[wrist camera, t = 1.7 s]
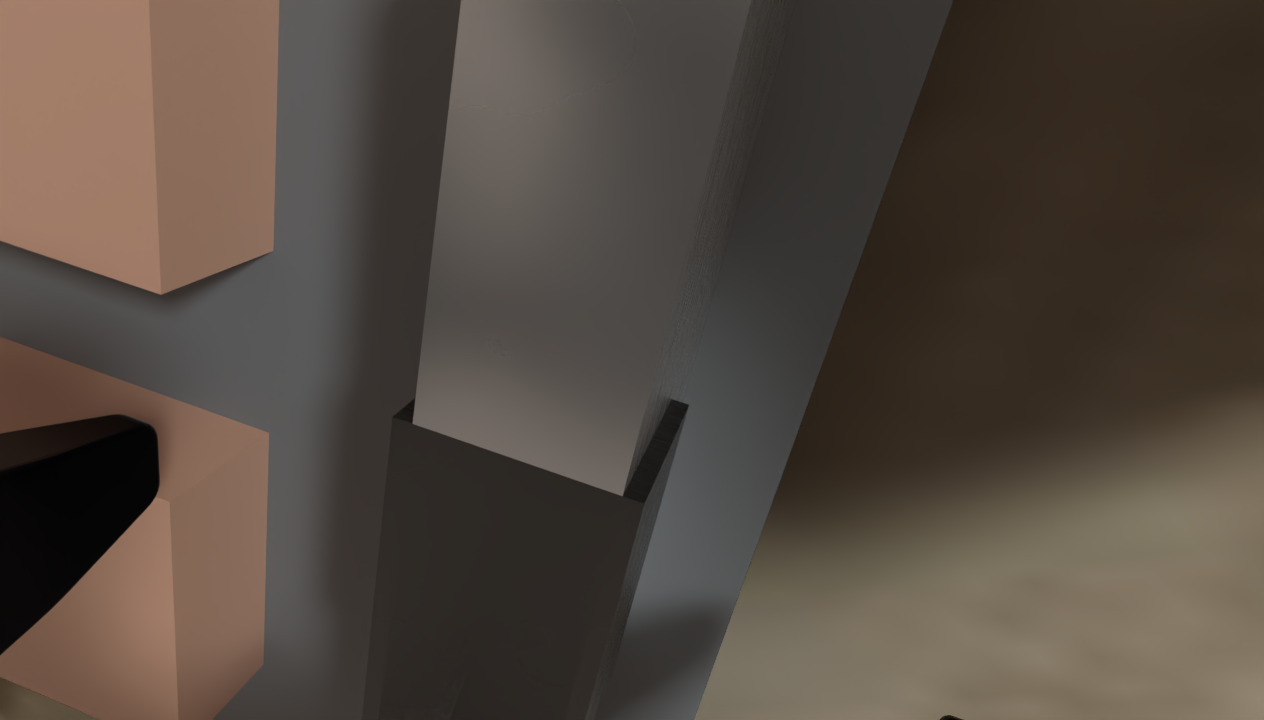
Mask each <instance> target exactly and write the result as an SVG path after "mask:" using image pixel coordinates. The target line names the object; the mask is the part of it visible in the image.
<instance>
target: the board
mask: <svg viewBox="0 0 1264 720" xmlns="http://www.w3.org/2000/svg"><path fill="white" fill-rule="evenodd" d="M952 3H953V0H795V3H794V7H793V10H792V14H791V18H790V21H789V25H788V28H787V32H786V35H785V39H784V42H783V46H782V49H781V53H780V57H779V60H778V64H777V67H776V71H775V74H774V78H773V81H772V85H771V89H770V92H769V96H768V99H767V103H766V106H765V110H764V113H763V117H762V120H761V124H760V128H759V131H758V135H757V138H756V142H755V145H754V149H753V152H752V156H751V159H750V163H749V167H748V170H747V174H746V177H745V181H744V184H743V188H742V191H741V195H740V199H739V202H738V206H737V209H736V213H735V216H734V220H733V223H732V227H731V230H730V234H729V238H728V241H727V245H726V248H725V252H724V255H723V259H722V262H721V266H720V269H719V273H718V277H717V280H716V284H715V287H714V291H713V294H712V298H711V301H710V305H709V308H708V312H707V316H706V319H705V323H704V326H703V330H702V333H701V337H700V340H699V344H698V348H697V351H696V355H695V358H694V362H693V365H692V369H691V372H690V376H689V379H688V383H687V387H686V390H685V394H684V397H683V401H682V402H683V403H686V404H689V408H688V411H687V415H686V418H685V422H684V425H683V429H682V432H681V436H680V439H679V443H678V446H677V450H676V453H675V457H674V460H673V463H672V467H671V470H670V474H669V477H668V481H667V484H666V488H665V491H664V495H663V498H662V502H661V505H660V509H659V512H658V516H657V519H656V523H655V526H654V530H653V533H652V537H651V540H650V544H649V547H648V551H647V554H646V558H645V561H644V565H643V568H642V572H641V575H640V579H639V582H638V586H637V589H636V592H635V596H634V599H633V603H632V606H631V610H630V613H629V617H628V620H627V624H626V627H625V631H624V634H623V638H622V641H621V645H620V648H619V652H618V655H617V659H616V662H615V666H614V669H613V672H612V674H611V677H610V679H609V682H608V685H607V687H606V690H605V692H604V695H603V698H602V700H601V703H600V705H599V708H598V711H597V713H596V716H595V718H594V720H694V718H695V715H696V712H697V710H698V707H699V704H700V701H701V698H702V696H703V693H704V690H705V687H706V685H707V682H708V679H709V676H710V674H711V671H712V668H713V665H714V662H715V660H716V657H717V654H718V651H719V649H720V646H721V643H722V640H723V638H724V635H725V632H726V629H727V626H728V624H729V621H730V618H731V615H732V613H733V610H734V607H735V604H736V601H737V599H738V596H739V593H740V590H741V588H742V585H743V582H744V579H745V577H746V574H747V571H748V568H749V565H750V563H751V560H752V557H753V554H754V552H755V549H756V546H757V543H758V541H759V538H760V535H761V532H762V529H763V527H764V524H765V521H766V518H767V516H768V513H769V510H770V507H771V505H772V502H773V499H774V496H775V493H776V491H777V488H778V485H779V482H780V480H781V477H782V474H783V471H784V468H785V466H786V463H787V460H788V457H789V455H790V452H791V449H792V446H793V444H794V441H795V438H796V435H797V432H798V430H799V427H800V424H801V421H802V419H803V416H804V413H805V410H806V408H807V405H808V402H809V399H810V396H811V394H812V391H813V388H814V385H815V383H816V380H817V377H818V374H819V371H820V369H821V366H822V363H823V360H824V358H825V355H826V352H827V349H828V347H829V344H830V341H831V338H832V335H833V333H834V330H835V327H836V324H837V322H838V319H839V316H840V313H841V311H842V308H843V305H844V302H845V299H846V297H847V294H848V291H849V288H850V286H851V283H852V280H853V277H854V275H855V272H856V269H857V266H858V263H859V261H860V258H861V255H862V252H863V250H864V247H865V244H866V241H867V238H868V236H869V233H870V230H871V227H872V225H873V222H874V219H875V216H876V214H877V211H878V208H879V205H880V202H881V200H882V197H883V194H884V191H885V189H886V186H887V183H888V180H889V178H890V175H891V172H892V169H893V166H894V164H895V161H896V158H897V155H898V153H899V150H900V147H901V144H902V141H903V139H904V136H905V133H906V130H907V128H908V125H909V122H910V119H911V117H912V114H913V111H914V108H915V105H916V103H917V100H918V97H919V94H920V92H921V89H922V86H923V83H924V81H925V78H926V75H927V72H928V69H929V67H930V64H931V61H932V58H933V56H934V53H935V50H936V47H937V44H938V42H939V39H940V36H941V33H942V31H943V28H944V25H945V22H946V20H947V17H948V14H949V11H950V8H951V6H952ZM460 6H461V0H279V37H278V79H277V120H276V162H275V204H274V246H273V251H272V252H269V253H267V254H264V255H261V256H259V257H256V258H254V259H251V260H249V261H246V262H244V263H241V264H238V265H236V266H233V267H231V268H228V269H226V270H223V271H221V272H218V273H215V274H213V275H210V276H208V277H205V278H203V279H200V280H198V281H195V282H192V283H190V284H187V285H185V286H182V287H180V288H177V289H175V290H172V291H169V292H167V293H164V294H162V295H160V294H157V293H154V292H151V291H148V290H145V289H142V288H139V287H136V286H133V285H130V284H128V283H125V282H122V281H119V280H116V279H113V278H110V277H107V276H104V275H101V274H98V273H95V272H92V271H89V270H86V269H83V268H80V267H77V266H74V265H71V264H68V263H65V262H62V261H59V260H56V259H53V258H50V257H47V256H44V255H41V254H38V253H35V252H32V251H29V250H26V249H24V248H21V247H18V246H15V245H12V244H9V243H6V242H3V241H0V337H2V338H5V339H8V340H10V341H13V342H16V343H19V344H22V345H24V346H27V347H30V348H33V349H36V350H38V351H41V352H44V353H47V354H50V355H52V356H55V357H58V358H61V359H64V360H66V361H69V362H72V363H75V364H78V365H80V366H83V367H86V368H89V369H92V370H94V371H97V372H100V373H103V374H106V375H108V376H111V377H114V378H117V379H120V380H122V381H125V382H128V383H131V384H134V385H136V386H139V387H142V388H145V389H148V390H150V391H153V392H156V393H159V394H162V395H164V396H167V397H170V398H173V399H176V400H178V401H181V402H184V403H187V404H190V405H192V406H195V407H198V408H201V409H204V410H206V411H209V412H212V413H215V414H218V415H220V416H223V417H226V418H229V419H232V420H234V421H237V422H240V423H243V424H246V425H248V426H251V427H254V428H257V429H260V430H262V431H265V432H268V433H269V455H268V496H267V538H266V580H265V622H264V663H263V666H262V667H261V668H260V669H259V670H258V671H257V672H256V673H255V674H254V675H253V676H252V677H251V678H250V680H249V681H248V682H247V683H246V684H245V685H244V686H243V687H242V688H241V689H240V690H239V691H238V692H237V694H236V695H235V696H234V697H233V698H232V699H231V700H230V701H229V702H228V703H227V704H226V705H225V706H224V707H223V709H222V710H221V711H220V712H219V713H218V714H217V715H216V716H215V717H214V718H213V719H215V720H362V711H363V701H364V692H365V682H366V672H367V662H368V652H369V642H370V632H371V623H372V613H373V603H374V593H375V583H376V573H377V564H378V554H379V544H380V534H381V524H382V514H383V504H384V495H385V485H386V475H387V465H388V455H389V445H390V436H391V426H392V417H393V416H394V415H395V414H396V413H398V412H399V411H400V410H401V409H402V408H403V407H405V406H406V405H407V404H408V403H409V402H411V401H412V400H413V399H414V398H415V397H416V389H417V380H418V371H419V363H420V354H421V345H422V337H423V328H424V319H425V310H426V302H427V293H428V284H429V276H430V267H431V258H432V249H433V241H434V232H435V223H436V215H437V206H438V197H439V188H440V180H441V171H442V162H443V154H444V145H445V136H446V127H447V119H448V110H449V101H450V93H451V84H452V75H453V67H454V58H455V49H456V40H457V32H458V23H459V14H460Z"/></svg>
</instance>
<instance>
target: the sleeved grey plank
mask: <svg viewBox="0 0 1264 720" xmlns="http://www.w3.org/2000/svg"><path fill="white" fill-rule="evenodd" d="M794 3H795V0H461V6H460V14H459V23H458V32H457V40H456V49H455V58H454V67H453V75H452V84H451V93H450V101H449V110H448V119H447V127H446V136H445V145H444V154H443V162H442V171H441V180H440V188H439V197H438V206H437V215H436V223H435V232H434V241H433V249H432V258H431V267H430V276H429V284H428V293H427V302H426V310H425V319H424V328H423V337H422V345H421V354H420V363H419V371H418V380H417V389H416V397H415V398H414V399H413V400H412V401H411V402H409V403H408V404H407V405H406V406H405V407H403V408H402V409H401V410H400V411H399V412H398V413H396V414H395V415H394V416H393V417H392V426H391V436H390V445H389V455H388V465H387V475H386V485H385V495H384V504H383V514H382V524H381V534H380V544H379V554H378V564H377V573H376V583H375V593H374V603H373V613H372V623H371V632H370V642H369V652H368V662H367V672H366V682H365V692H364V701H363V711H362V720H594V718H595V716H596V713H597V711H598V708H599V705H600V703H601V700H602V698H603V695H604V692H605V690H606V687H607V685H608V682H609V679H610V677H611V674H612V672H613V669H614V666H615V662H616V659H617V655H618V652H619V648H620V645H621V641H622V638H623V634H624V631H625V627H626V624H627V620H628V617H629V613H630V610H631V606H632V603H633V599H634V596H635V592H636V589H637V586H638V582H639V579H640V575H641V572H642V568H643V565H644V561H645V558H646V554H647V551H648V547H649V544H650V540H651V537H652V533H653V530H654V526H655V523H656V519H657V516H658V512H659V509H660V505H661V502H662V498H663V495H664V491H665V488H666V484H667V481H668V477H669V474H670V470H671V467H672V463H673V460H674V457H675V453H676V450H677V446H678V443H679V439H680V436H681V432H682V429H683V425H684V422H685V418H686V415H687V411H688V408H689V404H686V403H683V402H682V401H683V397H684V394H685V390H686V387H687V383H688V379H689V376H690V372H691V369H692V365H693V362H694V358H695V355H696V351H697V348H698V344H699V340H700V337H701V333H702V330H703V326H704V323H705V319H706V316H707V312H708V308H709V305H710V301H711V298H712V294H713V291H714V287H715V284H716V280H717V277H718V273H719V269H720V266H721V262H722V259H723V255H724V252H725V248H726V245H727V241H728V238H729V234H730V230H731V227H732V223H733V220H734V216H735V213H736V209H737V206H738V202H739V199H740V195H741V191H742V188H743V184H744V181H745V177H746V174H747V170H748V167H749V163H750V159H751V156H752V152H753V149H754V145H755V142H756V138H757V135H758V131H759V128H760V124H761V120H762V117H763V113H764V110H765V106H766V103H767V99H768V96H769V92H770V89H771V85H772V81H773V78H774V74H775V71H776V67H777V64H778V60H779V57H780V53H781V49H782V46H783V42H784V39H785V35H786V32H787V28H788V25H789V21H790V18H791V14H792V10H793V7H794Z"/></svg>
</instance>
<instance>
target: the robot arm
mask: <svg viewBox="0 0 1264 720" xmlns="http://www.w3.org/2000/svg"><path fill="white" fill-rule="evenodd" d="M159 486H160V472H159V450H158V435H157V432H156V430H155V429H154V427H153V426H151V425H150V424H148V423H146V422H143V421H141V420H138V419H135V418H132V417H130V416H127V415H122V414H112V415H106V416H100V417H94V418H88V419H82V420H77V421H71V422H65V423H59V424H53V425H47V426H41V427H35V428H29V429H23V430H17V431H11V432H5V433H0V655H1V654H3V653H4V652H5V651H6V650H7V649H8V648H9V647H10V646H12V645H13V644H14V643H15V642H16V641H17V640H18V639H19V638H21V637H22V636H23V635H24V634H25V633H26V632H27V631H28V630H29V629H31V628H32V627H33V626H34V625H35V624H36V623H37V622H38V621H39V620H40V619H42V618H43V617H44V616H45V615H46V614H47V613H48V612H49V611H50V610H51V609H52V608H53V607H54V606H55V605H56V604H57V603H58V602H59V601H60V600H61V599H62V598H63V597H64V596H65V595H66V594H67V593H68V592H69V591H70V590H71V589H72V588H73V587H74V586H75V585H76V584H77V583H78V582H79V580H80V579H81V578H82V577H83V576H84V575H85V574H86V573H87V572H88V571H89V570H90V569H91V568H92V567H93V566H94V564H95V563H96V562H97V561H98V560H99V559H100V558H101V557H102V556H103V555H104V554H105V553H106V552H107V551H108V550H109V548H110V547H111V546H112V545H113V544H114V543H115V542H116V541H117V540H118V539H119V538H120V537H121V536H122V535H123V534H124V532H125V531H126V530H127V529H128V528H129V527H130V526H131V525H132V524H133V523H134V522H135V521H136V520H137V519H138V518H139V516H140V515H141V514H142V513H143V512H144V511H145V510H146V509H147V508H148V507H149V506H150V504H151V503H152V502H153V500H154V499H155V497H156V495H157V492H158V490H159ZM940 720H963V719H960V718H957V717H954V716H951V715H947V716H943V717H942V718H941V719H940Z"/></svg>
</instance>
